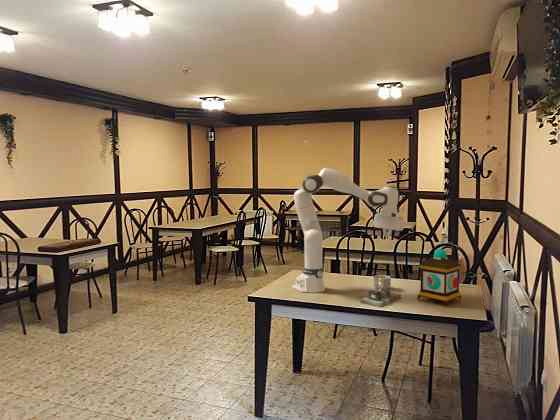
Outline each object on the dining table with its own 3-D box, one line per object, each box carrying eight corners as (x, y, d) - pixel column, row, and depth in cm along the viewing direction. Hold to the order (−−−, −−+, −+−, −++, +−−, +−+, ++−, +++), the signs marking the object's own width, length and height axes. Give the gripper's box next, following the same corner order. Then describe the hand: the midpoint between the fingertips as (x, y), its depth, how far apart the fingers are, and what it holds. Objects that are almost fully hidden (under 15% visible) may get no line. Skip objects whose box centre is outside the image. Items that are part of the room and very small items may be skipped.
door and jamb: (382, 294, 257) (382, 283, 257) (401, 298, 249) (401, 287, 248) (360, 302, 240) (360, 291, 239) (379, 307, 231) (379, 295, 231)
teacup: (391, 291, 262) (391, 279, 262) (373, 291, 264) (373, 278, 264) (389, 286, 276) (390, 274, 275) (372, 285, 278) (372, 273, 278)
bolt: (379, 294, 246) (380, 276, 245) (384, 295, 244) (385, 277, 243) (370, 297, 239) (370, 279, 238) (375, 298, 237) (375, 280, 236)
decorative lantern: (464, 301, 241) (466, 248, 239) (447, 308, 228) (448, 252, 226) (431, 294, 256) (432, 244, 254) (413, 300, 243) (414, 248, 241)
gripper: (372, 212, 263) (369, 234, 263) (399, 214, 247) (397, 238, 247) (378, 212, 267) (376, 234, 267) (406, 215, 251) (404, 238, 251)
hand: (386, 236), depth 257 cm, fingers closed
